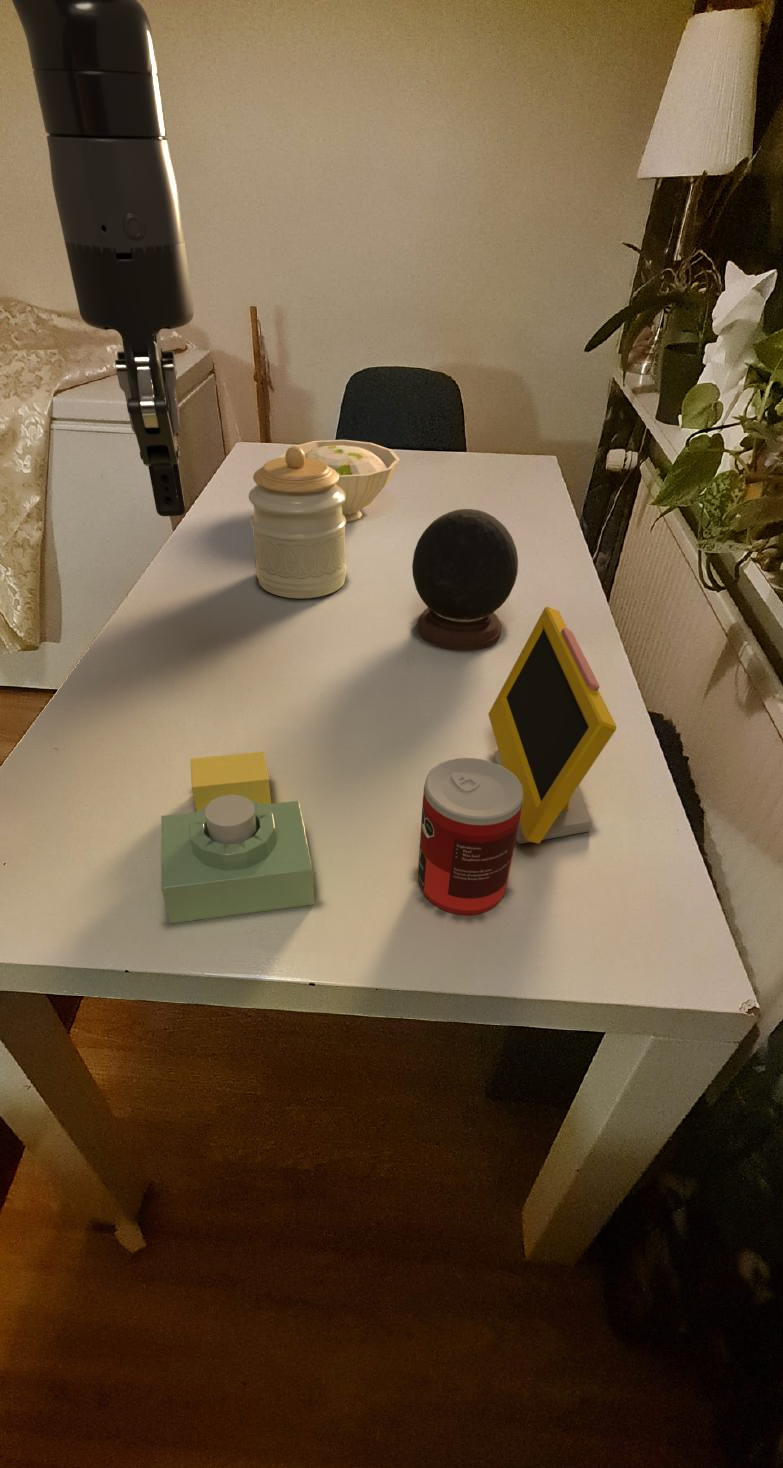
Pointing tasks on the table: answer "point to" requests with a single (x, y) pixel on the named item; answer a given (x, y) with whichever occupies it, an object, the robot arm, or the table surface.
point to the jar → (298, 527)
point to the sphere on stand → (463, 579)
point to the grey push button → (230, 819)
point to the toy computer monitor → (550, 730)
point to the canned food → (468, 834)
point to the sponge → (230, 778)
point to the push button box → (235, 865)
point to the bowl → (355, 469)
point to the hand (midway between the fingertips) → (171, 512)
